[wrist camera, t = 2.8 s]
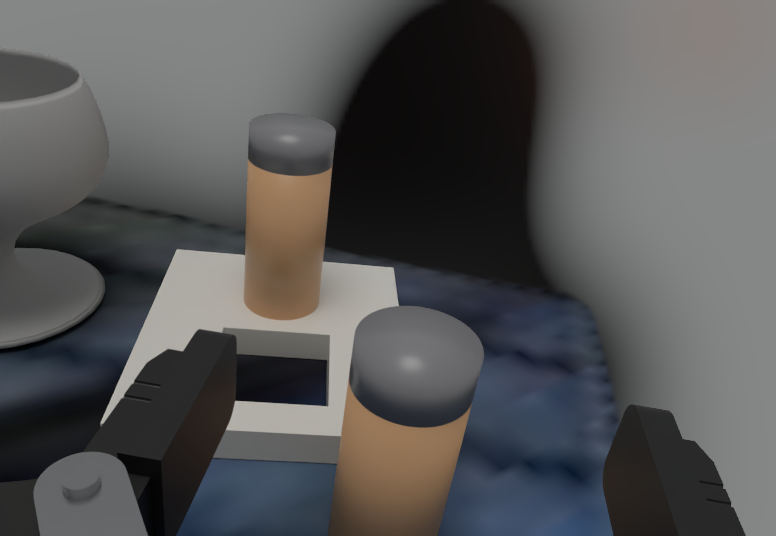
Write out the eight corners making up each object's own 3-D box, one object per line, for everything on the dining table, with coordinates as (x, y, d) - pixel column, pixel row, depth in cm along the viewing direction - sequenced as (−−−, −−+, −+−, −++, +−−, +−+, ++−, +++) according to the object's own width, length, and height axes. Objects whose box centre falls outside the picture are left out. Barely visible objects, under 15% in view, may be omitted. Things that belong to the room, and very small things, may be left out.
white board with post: (103, 452, 34) (76, 204, 27) (177, 272, 49) (172, 85, 42) (411, 467, 36) (459, 239, 29) (389, 289, 51) (417, 113, 44)
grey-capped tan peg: (325, 594, 29) (355, 380, 23) (327, 501, 33) (353, 301, 27) (438, 597, 29) (495, 389, 24) (425, 505, 34) (471, 310, 28)
